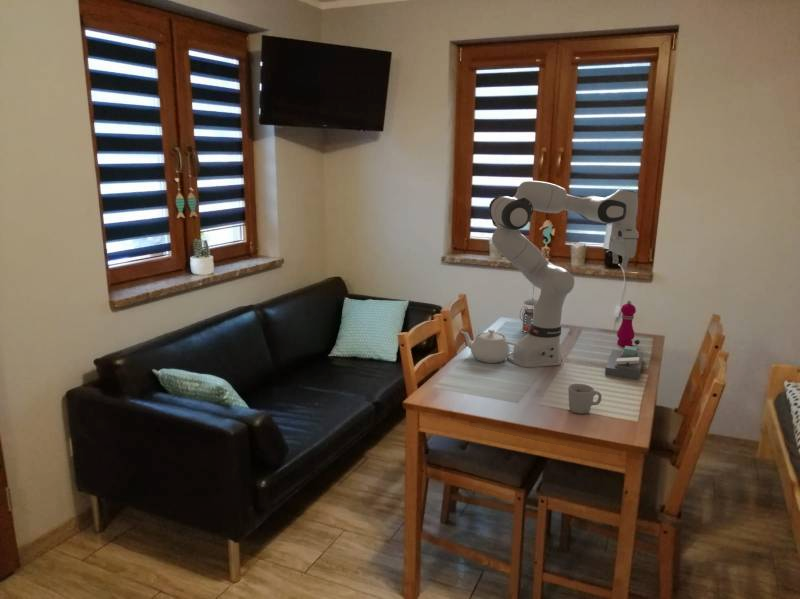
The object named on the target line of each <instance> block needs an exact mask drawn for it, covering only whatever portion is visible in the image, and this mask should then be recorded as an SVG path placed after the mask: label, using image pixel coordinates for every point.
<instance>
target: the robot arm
mask: <svg viewBox="0 0 800 599" xmlns="http://www.w3.org/2000/svg"><path fill="white" fill-rule="evenodd" d="M638 207H639V198H638V194H637V192H636V191H634V190H631V189H630V190H629V189H625V188H624V189H623V188H621V189H620V188H619V189H617V190H616V191H615V192H614V193H612V194H610V195H608V196H605V197H602V196H598V195H588V196H584V197H580V196H576V195H571V194H568V191H567V190H566V189H565V188H564V187H563V186H560V185H557V184H554V183H551V182H547V181H539V180H526V181H522V182H521V183H520V184H519V186H518V187H517V190H516V193H515V195H513V196H512V197H511V196H509V195H499V196H495V197H494V198H493V199H492V200H491V201H490V203H489V206H488V212H489V215H490V219H491V221H492V225H493V226H494V227H496V228H495V230H494V232H493V234H492V236H491V242H492V245H493V246H494V247H495V249H496V250H497V251H498V252H499V254H500V255H502V256H503V258H505V259H506V260H507V261H508V262H509V263H510V264H511V265H513V267H514V268H516V269H517V270H519V271H520V272H521V273H522V275H523V276H524V278H526V280H528V281H529V282H530V284H531V285H533V286H534V288H538V289H539V290H540V294H539V298H538V299H537V300H538V301H537V302H536V303H535V304H534V305H533V308H532V309H533V319H532V320H533V322H531V323H532V324H531V326H530V327H529V326H527V325H525V326H524V330H527V331H528V333H526V335H524V336H523V337H522V338H521V339H519V340H518V341H517V342H516V343H517V344H518V346H519V349H518V351H517V352H516V353H515V354H513V355H511V356H509V357H507V358H506V360H508V361H509V362H511V363H513V364H515V365H517V366H520V367H523V368H536V367H537V368H538V367H550V366H552V367H553V366H560V365H561V364H562V363H561V362H562V361H563V358H562V354H561V335H562V324H561V323H562V313H563V306H564V303H565V300H566V297H567V296H568V294H570V293H571V292H572V290H573V289H574V287H575V277H574V276H573V274H572V273H571V272H569V271H568V270H567V269H566V268H564V267H561V266H559V265H556V264H554V263H552V262H550V261H549V260H548V259H547V258H546V257H545V256H544V255H543V253H542V252H541V250H540V248H539V247H537V246H536V245H535V244H534V243H533V242H531V240H529V239H528V238H527V237H526V236H525V235H524V234H522V233H521V232H522V231H520V230H522V229H524V228H525V227H526V226H527V225H528V223H529V222H530V220H531V216H532V215H533V213H534V211H536V212H541V213H547V214H559V213H561V212H562V211H567V212H571V213H575V214H579V215H580V216H581V217H582V218H583V219H584V220H586V221H590V222H596V223H597V222H598V223H601V224H611V231H610V236H609V241H608V242H609V243H608V250H609V252H612V254H611V255H612V264H619V256H621V258H622V261H621V263H620V267H621V268H622V269H627V267H628V264H629V260H630V259H633V258H634V257H635V256H636V251H637V244H638V240H637V239H639V237H640V233H639V231H638V230H637V228H636V226H637V219H636V218H637V214H638V209H639V208H638ZM513 347H514V348H513V351H514V350H515V346H514V345H513ZM513 351H512V352H513Z"/></svg>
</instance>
